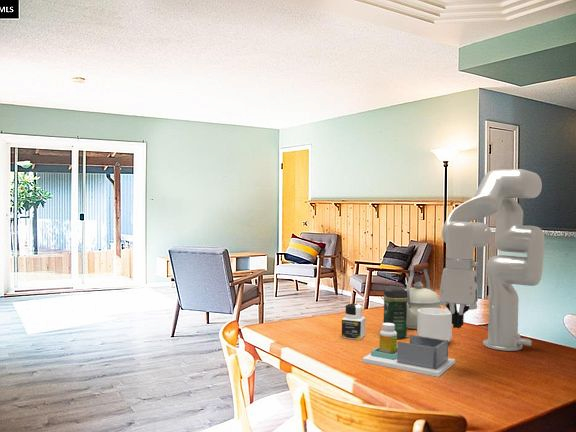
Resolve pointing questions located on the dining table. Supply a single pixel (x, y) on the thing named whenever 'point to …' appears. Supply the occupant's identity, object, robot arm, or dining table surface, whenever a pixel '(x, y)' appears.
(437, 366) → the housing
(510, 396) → the dining table surface
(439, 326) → the handleless ceramic cup
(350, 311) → the medicine bottle
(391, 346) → the supplement bottle
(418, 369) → the base plate
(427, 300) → the kettle
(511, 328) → the robot arm
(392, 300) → the coffee jar
